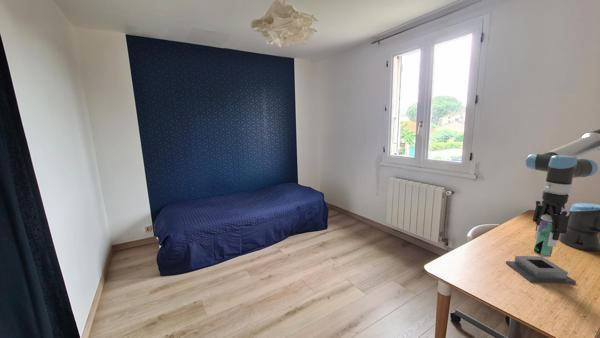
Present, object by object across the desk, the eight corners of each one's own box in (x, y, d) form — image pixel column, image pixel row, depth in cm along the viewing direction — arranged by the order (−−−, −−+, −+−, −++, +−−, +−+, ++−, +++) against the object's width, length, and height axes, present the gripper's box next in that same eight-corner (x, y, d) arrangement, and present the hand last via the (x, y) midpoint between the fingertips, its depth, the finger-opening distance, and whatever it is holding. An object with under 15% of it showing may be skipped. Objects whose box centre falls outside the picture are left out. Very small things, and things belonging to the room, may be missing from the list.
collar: (545, 263, 117) (547, 255, 116) (575, 283, 103) (578, 274, 102) (505, 262, 118) (507, 254, 117) (530, 282, 104) (532, 272, 103)
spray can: (547, 252, 110) (556, 210, 106) (553, 258, 105) (563, 215, 101) (531, 249, 112) (540, 208, 108) (536, 255, 107) (545, 213, 103)
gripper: (528, 185, 112) (518, 232, 116) (568, 199, 94) (555, 253, 98) (545, 186, 111) (535, 232, 116) (589, 199, 93) (575, 254, 98)
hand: (544, 242), depth 107 cm, fingers closed on spray can, 5 cm apart
